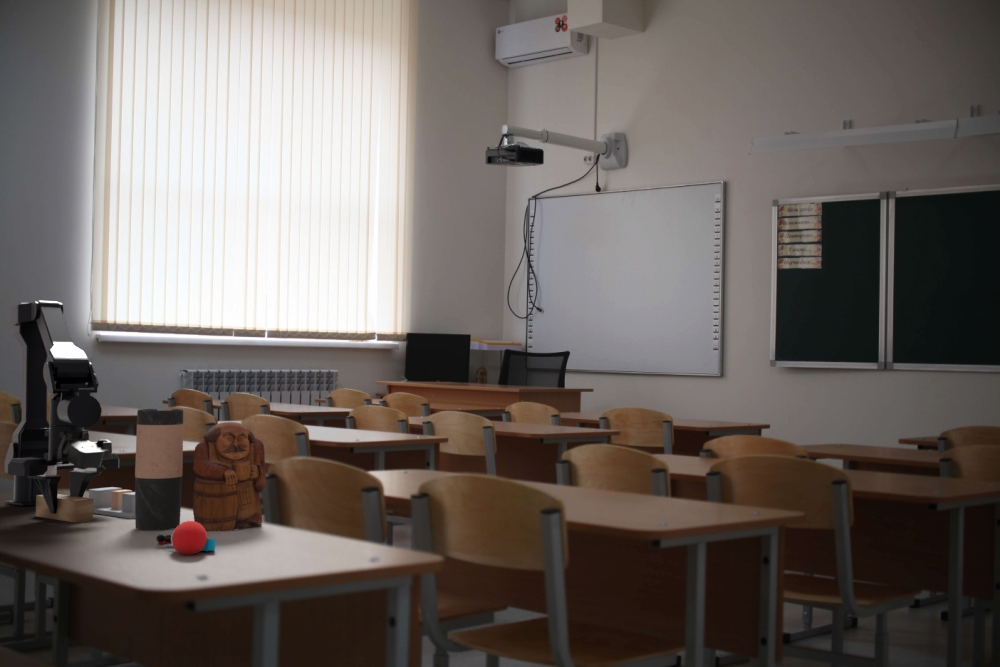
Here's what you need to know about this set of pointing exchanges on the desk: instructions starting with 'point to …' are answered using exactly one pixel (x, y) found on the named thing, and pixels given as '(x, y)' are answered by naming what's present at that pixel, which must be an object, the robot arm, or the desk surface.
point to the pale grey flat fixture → (113, 502)
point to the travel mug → (158, 469)
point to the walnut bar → (66, 508)
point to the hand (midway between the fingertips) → (64, 512)
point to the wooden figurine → (228, 478)
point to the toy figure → (188, 538)
